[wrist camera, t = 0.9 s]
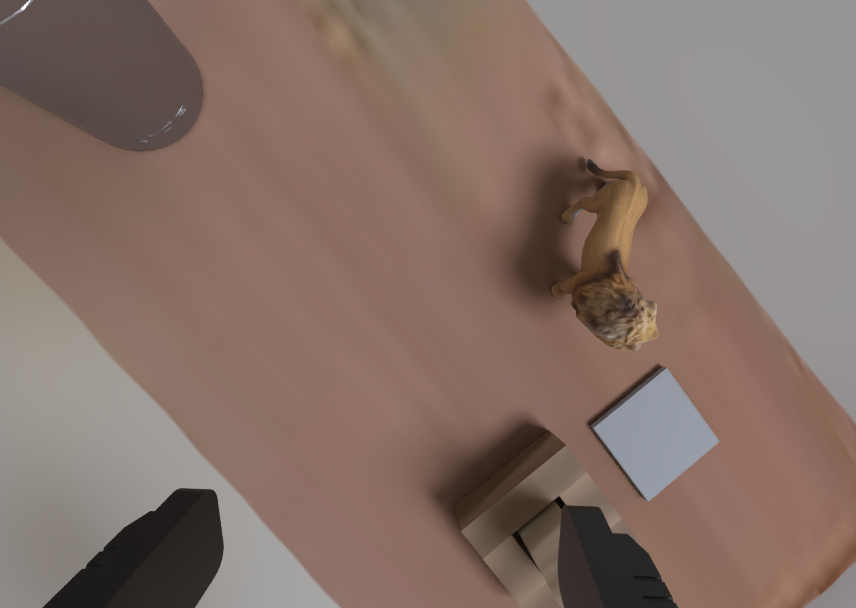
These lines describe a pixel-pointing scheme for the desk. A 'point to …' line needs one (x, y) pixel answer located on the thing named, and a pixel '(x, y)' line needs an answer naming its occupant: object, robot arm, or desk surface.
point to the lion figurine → (611, 265)
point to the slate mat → (655, 433)
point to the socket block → (527, 513)
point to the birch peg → (545, 544)
